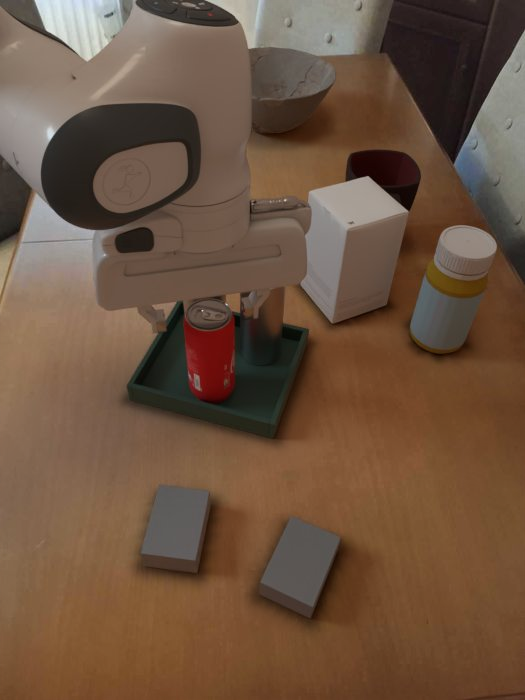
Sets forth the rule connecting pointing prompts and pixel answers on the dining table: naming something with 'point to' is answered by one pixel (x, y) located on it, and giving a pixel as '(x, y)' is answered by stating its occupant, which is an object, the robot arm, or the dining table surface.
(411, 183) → the cup
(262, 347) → the silver cans
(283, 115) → the ceramic bowl
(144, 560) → the thick grey tile
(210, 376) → the beverage can
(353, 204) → the rectangular carton
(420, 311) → the bottle
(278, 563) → the grey block right
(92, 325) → the dining table surface
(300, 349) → the can tray
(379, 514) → the dining table surface
